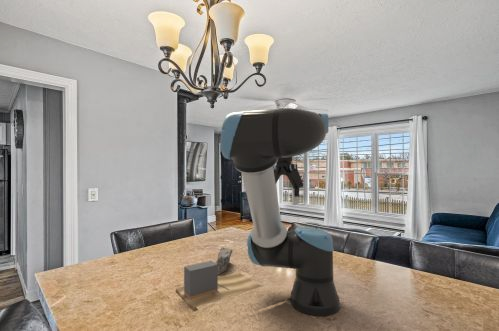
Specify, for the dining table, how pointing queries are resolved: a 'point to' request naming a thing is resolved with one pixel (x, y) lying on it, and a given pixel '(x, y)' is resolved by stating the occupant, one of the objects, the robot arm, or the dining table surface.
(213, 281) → the block
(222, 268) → the rock
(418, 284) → the dining table surface
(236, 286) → the board
